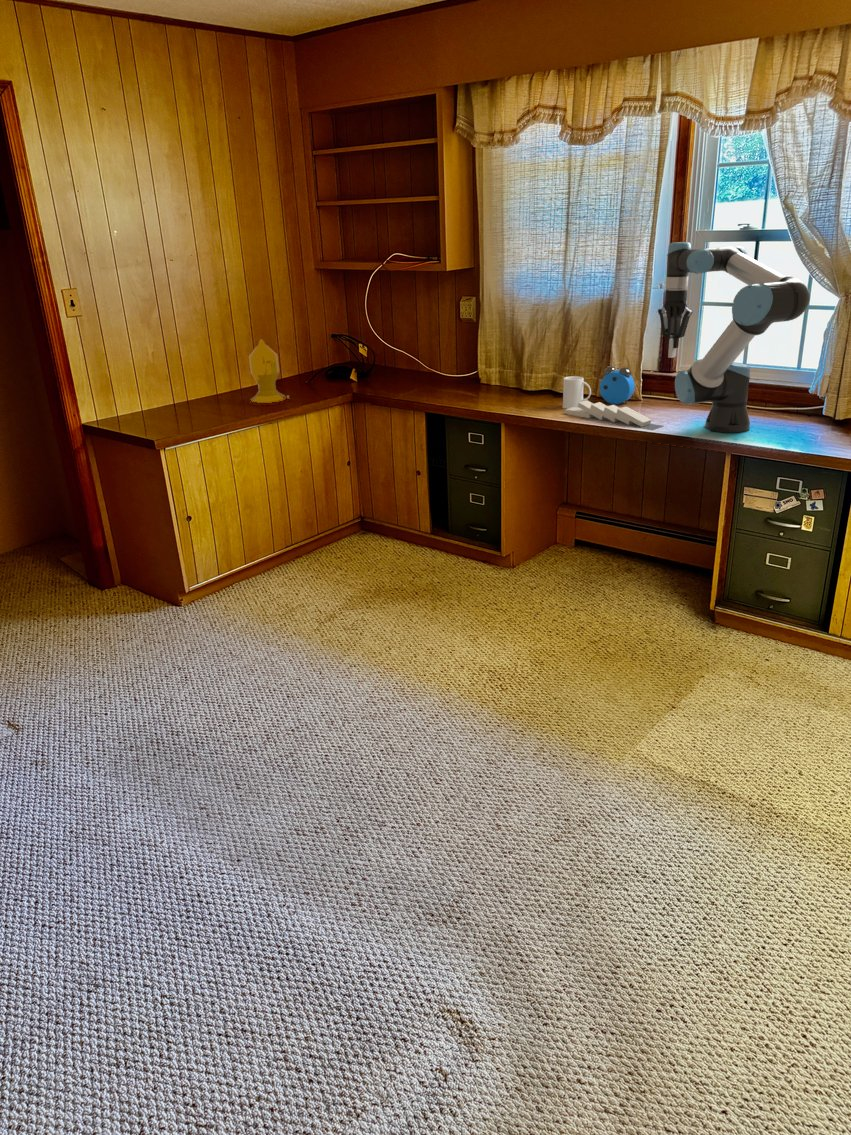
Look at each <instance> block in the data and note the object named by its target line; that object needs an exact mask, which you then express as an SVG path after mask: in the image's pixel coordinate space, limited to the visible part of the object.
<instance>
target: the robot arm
mask: <svg viewBox="0 0 851 1135" xmlns="http://www.w3.org/2000/svg"><path fill="white" fill-rule="evenodd" d="M667 250H668V251H667V255H666V256H667V258H666V259H667V260H666V279H665V289H666V290H665V292H664V294H665V295H664V301H665V302H664V305H663V307H661V308H658V309H657V313H658V315H659V318H660V326H661V327H660V328H661V332H662V337H665V338H666V340H667V341H666V343H667V344H666V347H667V348H668V354H667V355H668V356H667V358H671V359H672V358H676V357H677V349H678V348H679V344H680V342H679V340H680V339H681V338H684V337H685V335H686V331H687V327H688V325H689V322H690V318H691V316H692V314H693V313H694V312H693V311H694V310H692V309H689V308H688V305H687V301H688V289H687V288H688V286H689V276H690V274H691V273H692V274H695V275H698V274H705V273H711V272H725V273H727V274H729V275H730V276H732V277H734V278H735V279H737V280H739V281H741V282H742V283H744V284H745V286H744V287H742V288H740V290H739V291H738V292H737V293H736V294H735V295H734V298H733V301H732V303H733V304H732V306H731V314H732V320H731V321H730V323H729V324H728V325H727V327H726V328H725V329H724V330H723V331H722V333H721V334H720V335H719V337H718V338H717V340H716V341H715V342H714V343H713V345H712V346H711V348H710V349H709V350H708V351H707V353H706V354H705V355H704V356H703V357H702V358H700V359H697V360H696V361H694V363H692V365H691V366H690V368H689V369H683V370H680V371H678V372H677V374H676V375H675V379H674V390H675V395H676V397H677V399H678V400H679V402H680V403H682V404H684V405H694V404H700V403H708V402H709V403H710V402H712V404H711V408H710V410H709V413H708V414H707V417H706V420H705V424H704V427H705V428H706V429H707V430H710V431H711V432H718V433H743V432H747V431H749V430H750V425H751V420H750V416H749V412H748V411H749V410H748V408H747V406H748V404H747V403H748V395H749V386H750V379H751V367H750V366H749V365H747V364H744V363H741V362H735V360H736V359H737V358H738V357H739V356H740V355H741V353H742V352H743V351H744V350H745V349H746V348H747V346H748V345H749V344H750V342H751V341H753V339H754V338H755V336H759V335H762V334H764V333H765V332H766V331H767V330H768V329H769V327H770V326H771V325H773V323H780V322H781V323H782V322H783V323H784V322H789V321H793V320H795V319H797V318H800V317H801V315H803V314H804V312H806V310H807V308H808V307H809V304H810V298H811V295H810V290H809V288H808V286H807V285H806V284H805V283H804V282H803V281H802V280H800V279H799V278H796V277H794V276H792V275H783V274H781V273H780V272H778V271H777V270H774V269H772V268H771V267H768V266H767V265H765V264H763V263H761V262H759V261H758V260H756V259H754V258H752V257H750V256H748V252H747V251H746V248H745V247H743V246H736V245H733V246H724V247H711V248H710V247H709V248H697V249H696V248H692V244H691V242H688V241H679V242H671V243H669V245H668V249H667Z"/></svg>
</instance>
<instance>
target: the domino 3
mask: <svg viewBox="0 0 851 1135" xmlns="http://www.w3.org/2000/svg"><path fill="white" fill-rule="evenodd" d="M607 406H608V405H606V404H604V403H603V402H600V401H598V402H595V403H593V404H591V407H590V409H592V410H593V411H595V412H597V413H599V414H600V415H602V416H604V417H605V418H607V419H609V420H611V421H612V422H617V421H620V420H618V419H617V418H615V417H613V416H611V415H609V414H608V413H606V412H604V409H605V407H607Z"/></svg>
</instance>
